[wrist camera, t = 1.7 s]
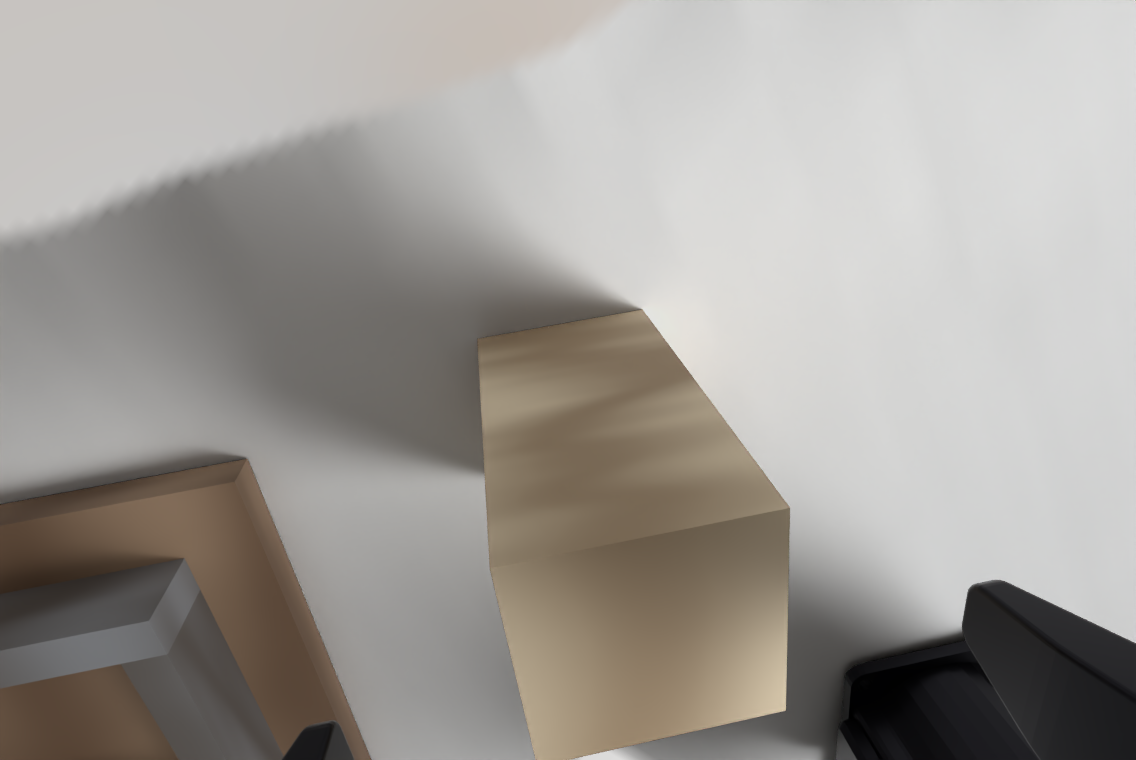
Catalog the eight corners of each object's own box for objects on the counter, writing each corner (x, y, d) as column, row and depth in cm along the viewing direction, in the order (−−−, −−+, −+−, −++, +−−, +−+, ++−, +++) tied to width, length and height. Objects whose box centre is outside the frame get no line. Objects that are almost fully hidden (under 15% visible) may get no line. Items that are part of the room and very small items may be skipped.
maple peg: (642, 309, 16) (789, 508, 9) (654, 449, 18) (785, 710, 10) (477, 338, 16) (489, 568, 8) (506, 478, 17) (537, 766, 10)
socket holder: (247, 458, 16) (204, 537, 13) (375, 770, 21) (363, 872, 19) (-285, 557, 15) (-445, 662, 12) (-14, 857, 20) (-86, 976, 18)
